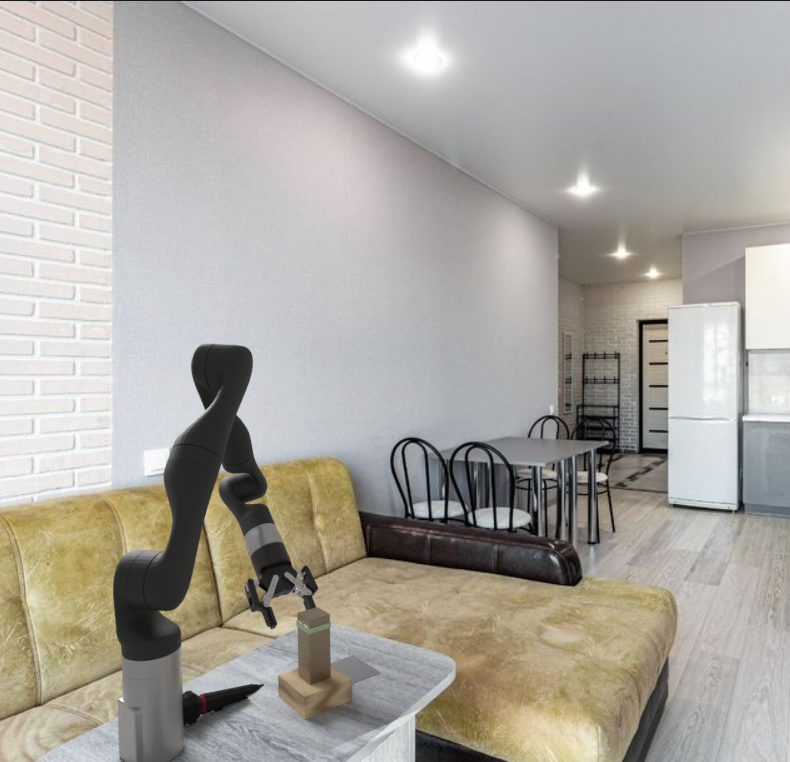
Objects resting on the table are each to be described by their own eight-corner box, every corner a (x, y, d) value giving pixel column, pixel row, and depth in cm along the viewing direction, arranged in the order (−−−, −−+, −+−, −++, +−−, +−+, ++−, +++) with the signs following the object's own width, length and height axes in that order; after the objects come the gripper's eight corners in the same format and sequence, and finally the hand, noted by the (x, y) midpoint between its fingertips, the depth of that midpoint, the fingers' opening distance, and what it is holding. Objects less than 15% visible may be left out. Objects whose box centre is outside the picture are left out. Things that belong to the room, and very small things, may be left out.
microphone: (264, 700, 125) (167, 729, 111) (261, 669, 127) (166, 694, 113) (279, 701, 122) (181, 731, 108) (276, 669, 123) (180, 695, 109)
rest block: (305, 724, 111) (304, 696, 111) (278, 701, 119) (278, 675, 119) (352, 705, 117) (351, 678, 117) (324, 684, 125) (323, 659, 125)
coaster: (339, 694, 121) (339, 688, 121) (312, 674, 129) (312, 669, 129) (381, 677, 127) (380, 672, 127) (353, 659, 135) (353, 655, 135)
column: (309, 685, 114) (308, 620, 114) (297, 675, 118) (296, 612, 118) (331, 677, 117) (330, 614, 117) (319, 668, 121) (317, 606, 121)
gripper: (240, 547, 126) (266, 622, 118) (302, 534, 135) (331, 603, 126) (230, 566, 131) (255, 640, 122) (291, 553, 139) (318, 620, 131)
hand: (294, 621), depth 124 cm, fingers open, 8 cm apart
